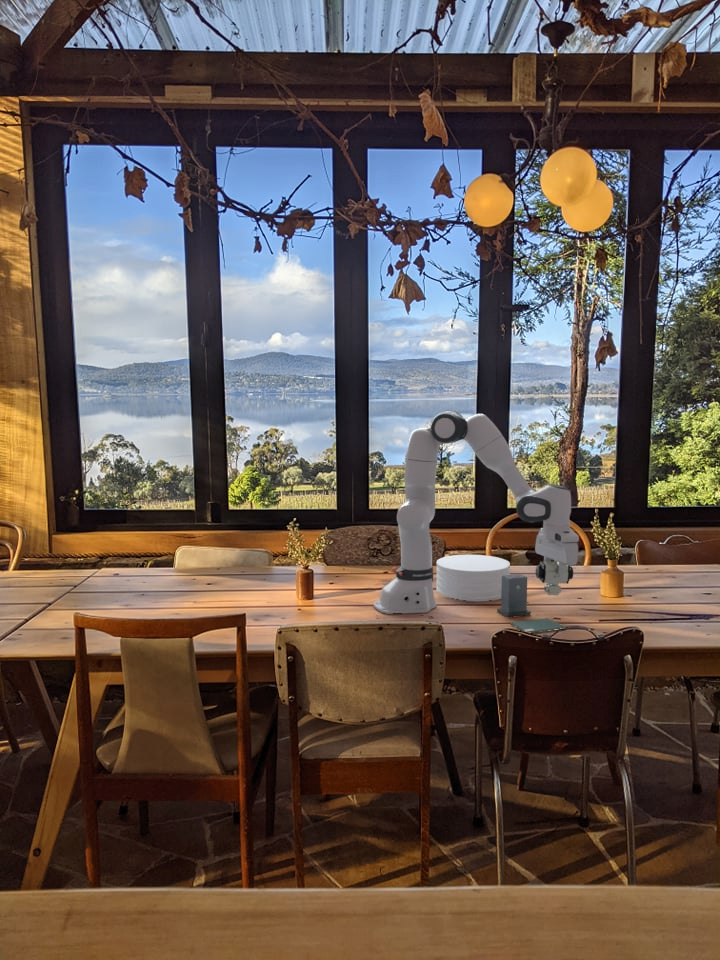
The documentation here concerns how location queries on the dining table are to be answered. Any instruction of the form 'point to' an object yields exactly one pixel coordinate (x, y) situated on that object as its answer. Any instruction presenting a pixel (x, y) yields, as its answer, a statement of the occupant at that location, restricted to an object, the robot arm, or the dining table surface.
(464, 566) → the plate stack
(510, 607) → the block
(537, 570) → the pneumatic valve
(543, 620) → the mat
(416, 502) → the robot arm
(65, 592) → the dining table surface
